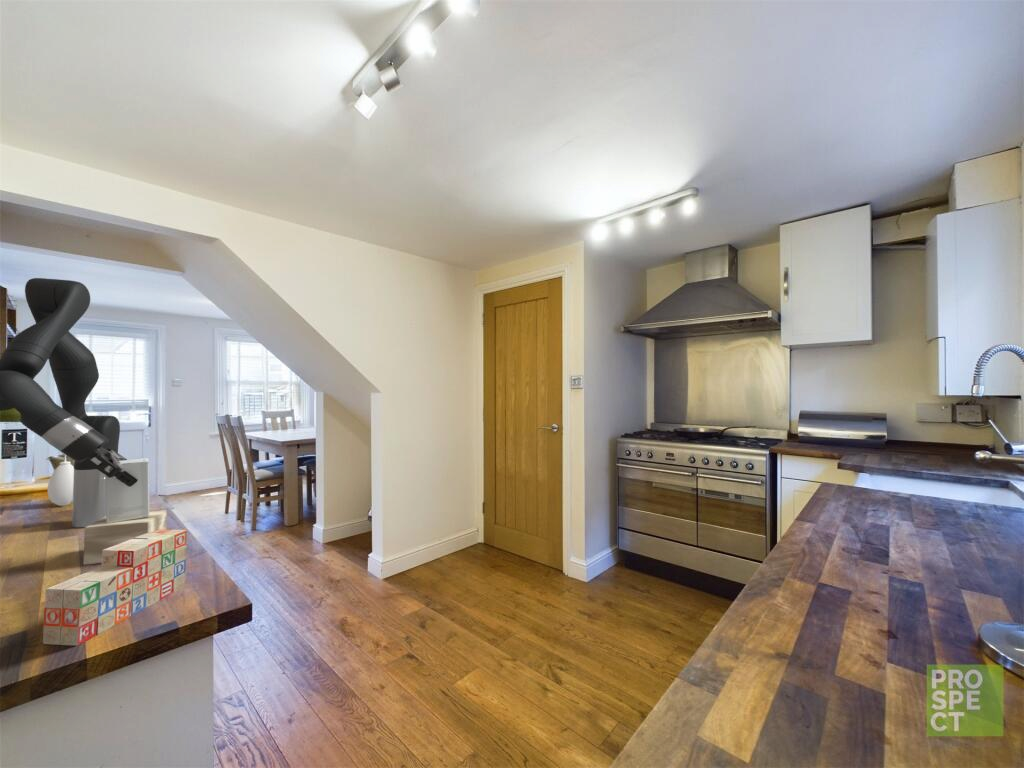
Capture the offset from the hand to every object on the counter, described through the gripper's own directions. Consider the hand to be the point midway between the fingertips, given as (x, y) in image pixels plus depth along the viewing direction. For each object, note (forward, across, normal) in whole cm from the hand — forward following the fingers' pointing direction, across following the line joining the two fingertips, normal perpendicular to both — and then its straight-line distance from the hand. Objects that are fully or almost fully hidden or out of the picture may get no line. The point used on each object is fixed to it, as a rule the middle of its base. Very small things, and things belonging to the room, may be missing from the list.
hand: (137, 480), depth 108 cm
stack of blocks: (+15, -37, +11) cm, 42 cm away
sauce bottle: (-6, +67, +32) cm, 74 cm away
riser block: (+12, 0, +14) cm, 18 cm away
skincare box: (+6, 0, +8) cm, 10 cm away
